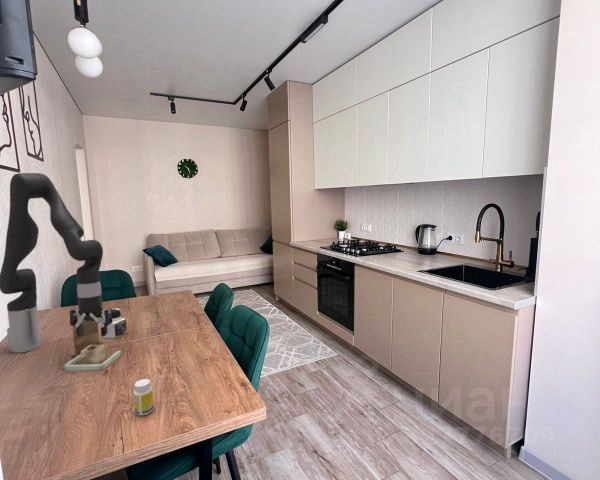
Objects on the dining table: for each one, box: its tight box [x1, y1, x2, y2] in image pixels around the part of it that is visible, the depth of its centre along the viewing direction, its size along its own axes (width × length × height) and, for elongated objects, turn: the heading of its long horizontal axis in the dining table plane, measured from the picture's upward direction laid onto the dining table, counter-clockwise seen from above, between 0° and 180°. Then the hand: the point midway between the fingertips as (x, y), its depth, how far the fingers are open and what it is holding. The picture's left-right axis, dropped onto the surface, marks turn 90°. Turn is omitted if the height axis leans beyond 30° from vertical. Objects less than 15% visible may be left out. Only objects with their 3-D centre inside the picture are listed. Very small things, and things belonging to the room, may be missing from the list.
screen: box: [70, 321, 104, 359], centre depth 132 cm, size 5×13×13 cm, turn 1°
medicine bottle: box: [101, 308, 128, 340], centre depth 148 cm, size 7×7×12 cm
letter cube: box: [80, 344, 106, 365], centre depth 123 cm, size 6×6×6 cm
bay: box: [61, 350, 122, 372], centre depth 122 cm, size 14×12×2 cm
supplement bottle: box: [133, 378, 154, 416], centre depth 92 cm, size 5×5×8 cm
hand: (92, 335), depth 122 cm, fingers open, 8 cm apart
